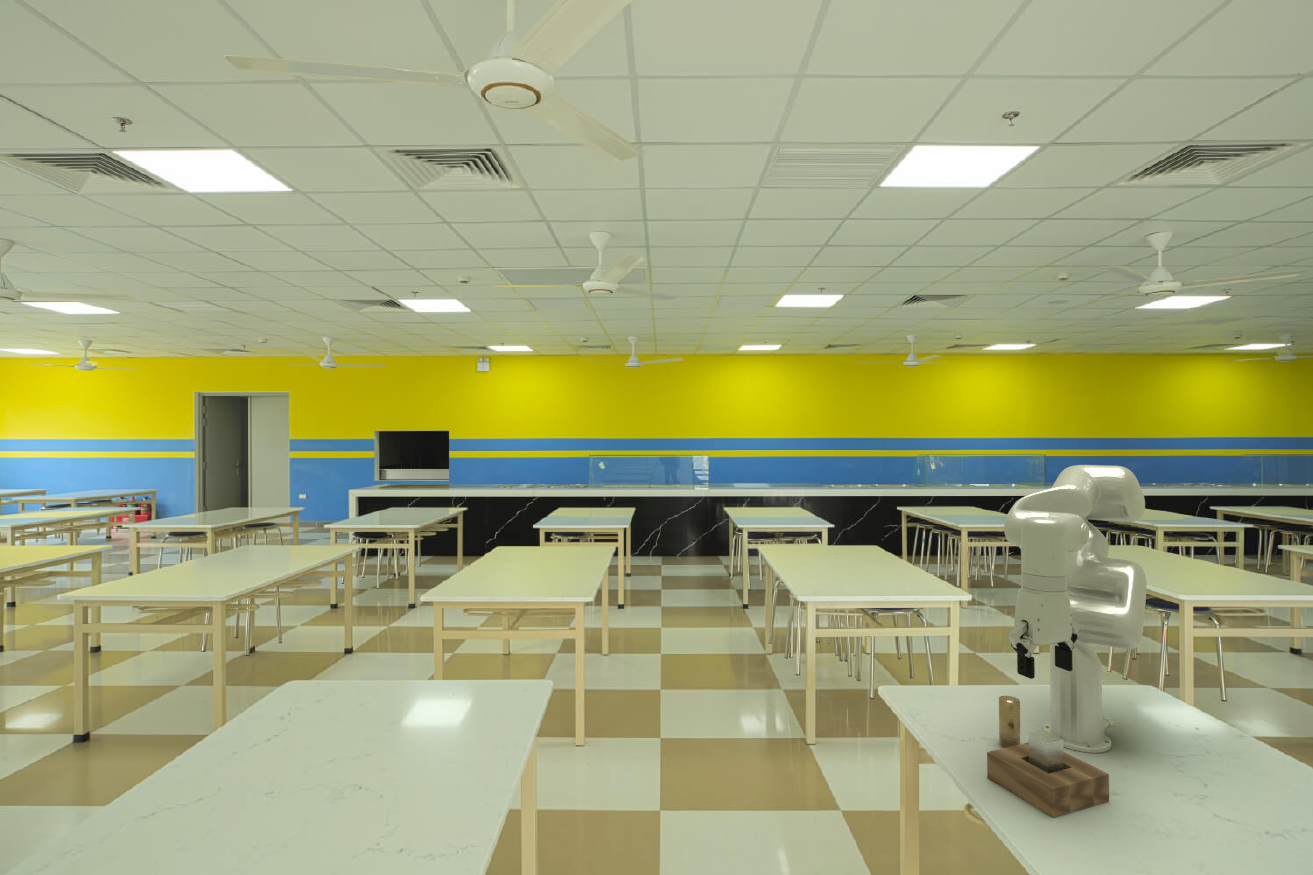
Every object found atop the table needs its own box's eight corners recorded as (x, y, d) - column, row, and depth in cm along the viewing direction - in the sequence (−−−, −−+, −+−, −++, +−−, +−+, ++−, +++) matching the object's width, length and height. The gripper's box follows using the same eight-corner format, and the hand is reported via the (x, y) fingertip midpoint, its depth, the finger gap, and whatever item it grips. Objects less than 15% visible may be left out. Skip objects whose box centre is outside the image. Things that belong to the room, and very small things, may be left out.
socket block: (1039, 764, 130) (1039, 739, 130) (1109, 801, 116) (1108, 773, 116) (987, 777, 125) (987, 752, 125) (1053, 817, 112) (1052, 789, 112)
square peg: (1044, 781, 123) (1044, 730, 123) (1063, 792, 119) (1063, 739, 119) (1029, 785, 122) (1028, 733, 122) (1047, 796, 118) (1047, 742, 118)
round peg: (1008, 739, 140) (1008, 694, 140) (1024, 748, 136) (1024, 701, 136) (994, 742, 139) (994, 697, 139) (1010, 751, 135) (1010, 704, 135)
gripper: (1058, 574, 127) (1059, 659, 127) (992, 582, 121) (993, 672, 121) (1095, 582, 120) (1096, 672, 120) (1027, 591, 114) (1028, 686, 114)
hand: (1045, 672), depth 121 cm, fingers open, 9 cm apart
